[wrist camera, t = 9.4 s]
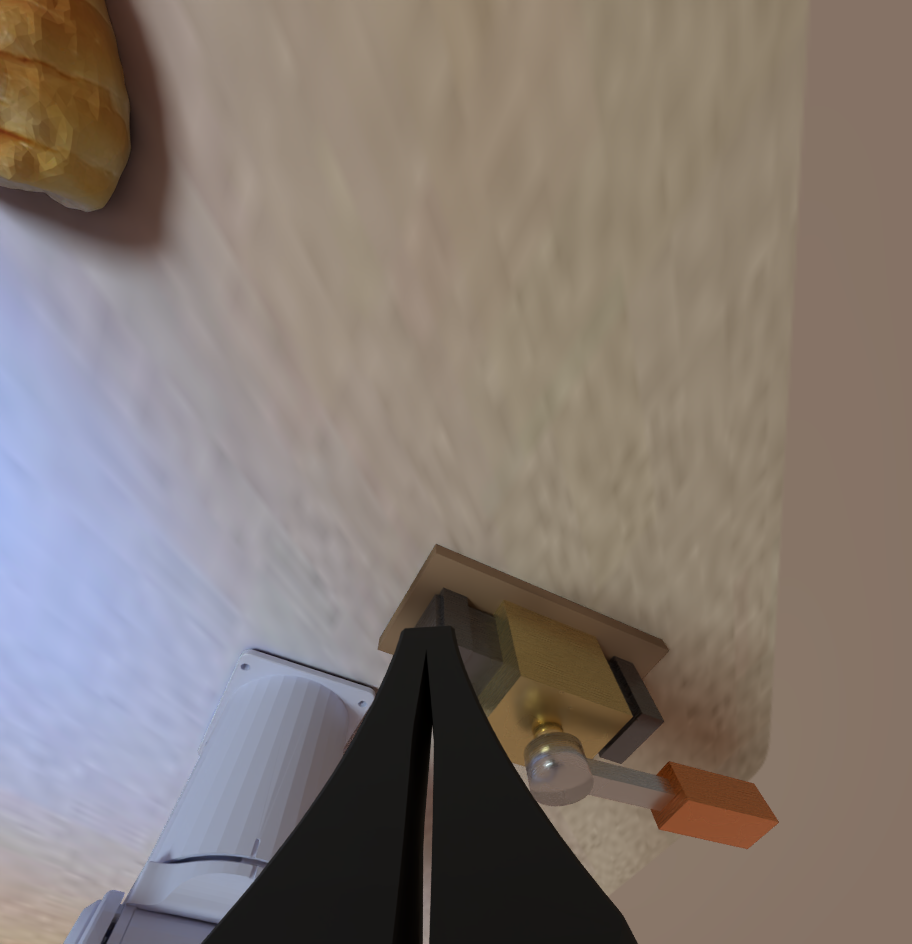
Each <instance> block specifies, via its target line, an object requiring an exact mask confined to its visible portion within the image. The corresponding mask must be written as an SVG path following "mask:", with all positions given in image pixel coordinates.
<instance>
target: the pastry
mask: <svg viewBox="0 0 912 944" xmlns="http://www.w3.org/2000/svg"><path fill="white" fill-rule="evenodd" d="M130 111H131V107H130V103H129V98H128V94H127V91H126V87H125V83H124V74H123V67H122V65H121V62H120V58H119V55H118V48H117V42H116V38H115V34H114V31H113V28H112V25H111V22H110V19H109V15H108V11H107V8H106V4H105V1H104V0H0V186H3V187H7V188H11V189H22V190H25V191H32V192H45V193H46V194H48V195H49V196H50V197H51V198H52V199H53V200H55V201H57V202H59V203H60V204H62V205H63V206H65V207H68V208H72V209H79V210H82V211H85V212H91V211H95V210H98V209H101V208H103V207H104V206H105V205H106V203H107V202H108V201H109V199H110V197H111V195H112V194H113V192H114V190H115V188H116V186H117V183H118V181H119V178H120V176H121V174H122V172H123V170H124V168H125V166H126V164H127V162H128V159H129V155H130V152H131V144H130V130H129V113H130Z"/></svg>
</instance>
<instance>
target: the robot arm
mask: <svg viewBox="0 0 912 944" xmlns="http://www.w3.org/2000/svg"><path fill="white" fill-rule="evenodd" d="M247 664H248V665H247ZM371 704H372V705H371ZM370 706H371V707H370ZM368 709H369V710H368ZM367 711H368V712H367ZM366 712H367V714H366ZM365 714H366V716H365V718H364V720H363V722H362V723H361V725H360V727H359V729H358V731H357V733H356V735H355V737H354V738H353V740H352V742H351V743H350V745H349V747H348V749H347V750H346V752H345V754H344V755H343V752H344V747H345V745H346V744H347V742H348V741H349V739H350V737H351V736H352V734H353V733H354V731H355V730H356V728H357V726H358V725H359V723H360V722H361V720H362V719H363V717H364V715H365ZM432 725H433V736H434V780H433V831H432V872H431V906H430V938H429V944H638V943H637V941H636V939H635V937H634V935H633V934H632V931H631V930H630V928H629V926H628V924H627V922H626V920H625V918H624V916H623V915H622V913H621V912H620V911H619V910H618V908H617V907H616V906H615V905H614V904H613V902H612V901H611V900H610V899H609V897H608V896H607V895H606V894H605V893H604V891H603V890H602V889H601V888H600V887H599V885H598V884H597V883H596V881H595V880H594V879H593V878H592V876H591V875H590V874H589V873H588V871H587V870H586V869H585V868H584V866H583V865H582V864H581V862H580V861H579V860H578V859H577V857H576V856H575V855H574V853H573V852H572V851H571V849H570V848H569V847H568V845H567V844H566V843H565V841H564V840H563V839H562V837H561V836H560V835H559V833H558V832H557V830H556V829H555V827H554V826H553V824H552V823H551V822H550V820H549V819H548V817H547V816H546V814H545V813H544V811H543V810H542V809H541V807H540V806H539V804H538V803H537V801H536V800H535V798H534V797H533V796H532V794H531V793H530V791H529V790H528V788H527V786H526V785H525V783H524V782H523V780H522V778H521V777H520V775H519V774H518V772H517V770H516V769H515V767H514V766H513V764H512V762H511V760H510V759H509V757H508V755H507V754H506V752H505V750H504V748H503V747H502V745H501V743H500V741H499V739H498V738H497V736H496V734H495V732H494V730H493V728H492V726H491V724H490V722H489V720H488V718H487V716H486V714H485V712H484V710H483V708H482V706H481V704H480V702H479V700H478V697H477V695H476V693H475V690H474V688H473V686H472V683H471V681H470V679H469V676H468V674H467V671H466V669H465V666H464V663H463V660H462V657H461V654H460V651H459V647H458V643H457V639H456V634H455V629H454V628H453V627H452V626H435V627H418V628H405V629H404V630H402V631H401V633H400V637H399V641H398V644H397V647H396V650H395V652H394V655H393V658H392V660H391V663H390V665H389V667H388V670H387V672H386V675H385V677H384V679H383V681H382V683H381V686H380V688H379V690H378V692H377V694H376V696H375V691H374V690H373V689H371V688H369V687H366V686H363V685H360V684H357V683H354V682H351V681H348V680H345V679H342V678H338V677H335V676H332V675H329V674H326V673H323V672H320V671H317V670H314V669H311V668H308V667H305V666H302V665H298V664H295V663H292V662H289V661H286V660H283V659H280V658H277V657H274V656H271V655H268V654H265V653H262V652H259V651H255V650H251V649H249V650H245V651H243V652H242V654H241V656H240V658H239V660H238V662H237V664H236V667H235V669H234V671H233V673H232V676H231V678H230V680H229V682H228V684H227V687H226V689H225V691H224V693H223V696H222V698H221V700H220V702H219V705H218V707H217V709H216V711H215V713H214V716H213V718H212V720H211V722H210V725H209V727H208V729H207V731H206V734H205V736H204V738H203V740H202V742H201V745H200V747H199V749H198V754H199V756H200V757H199V759H198V761H197V763H196V765H195V767H194V769H193V771H192V773H191V775H190V777H189V779H188V781H187V783H186V785H185V787H184V789H183V791H182V793H181V795H180V797H179V799H178V801H177V803H176V805H175V807H174V809H173V811H172V813H171V815H170V817H169V819H168V821H167V823H166V825H165V827H164V829H163V831H162V833H161V835H160V837H159V839H158V841H157V843H156V845H155V847H154V849H153V851H152V853H151V855H150V857H149V859H148V861H147V863H146V864H145V866H144V868H143V869H142V871H141V873H140V874H139V876H138V878H137V880H136V881H135V883H134V885H133V886H132V888H131V890H130V892H129V893H128V895H127V897H126V899H125V900H124V902H123V904H120V903H121V901H122V899H123V896H124V893H125V892H121V891H116V890H110V891H109V892H107V893H106V894H105V896H104V897H103V899H102V900H97V901H96V902H94V903H93V904H91V905H89V906H88V907H86V908H85V909H84V910H83V911H82V913H81V914H80V916H79V918H78V919H77V921H76V923H75V924H74V926H73V928H72V929H71V931H70V933H69V935H68V936H67V938H66V940H65V941H64V943H63V944H423V841H424V821H425V809H426V797H427V784H428V772H429V760H430V747H431V734H432Z"/></svg>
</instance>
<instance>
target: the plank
mask: <svg viewBox="0 0 912 944" xmlns="http://www.w3.org/2000/svg"><path fill="white" fill-rule="evenodd" d="M443 587H444V588H446V589H449V590H451V591H454V592H456V593H459V594H461V595H464V596H466V597H467V599H468V606H469V607H471V608H474V609H476V610H479V611H481V612H484V613H486V614H489V615H491V616H492V615H493V614H494V612H495V611H496V609H497V608H498V607H499V605H500V604H501V602H502V601H503V600H506V601H509V602H511V603H514V604H516V605H519V606H521V607H524V608H526V609H529V610H531V611H533V612H536V613H538V614H541V615H543V616H546V617H548V618H551V619H553V620H556V621H558V622H560V623H563V624H565V625H568V626H570V627H573V628H575V629H578V630H580V631H583V632H585V633H587V634H590V635H592V636H595V637H596V639H597V641H598V643H599V645H600V647H601V649H602V652H603V654H604V656H605V658H606V660H607V661H608V662H609V661H610V660H611V658H612V657H613V656H616V657H619V658H621V659H624V660H626V661H629V662H631V663H633V664H634V666H635V668H636V670H637V671H638V673H639V675H640V677H641V679H643V678H644V677H645V676H646V675H647V674H648V672H649V671H650V670H651V669H652V668H653V667H654V666H655V665H656V664H657V663H658V662H659V661H660V660H661V659H662V657H663V656H664V655H665V654H666V653H667V652H668V651H669V650H668V648H667V647H666V645H665V644H664V642H663V641H662V640H661V639H659V638H656V637H654V636H651V635H649V634H647V633H644V632H642V631H640V630H637V629H635V628H633V627H630V626H628V625H626V624H623V623H621V622H618V621H616V620H614V619H611V618H609V617H607V616H604V615H602V614H600V613H597V612H595V611H593V610H590V609H588V608H585V607H583V606H581V605H578V604H576V603H574V602H571V601H569V600H567V599H564V598H562V597H560V596H557V595H555V594H552V593H550V592H548V591H545V590H543V589H541V588H538V587H536V586H534V585H531V584H529V583H527V582H524V581H522V580H519V579H517V578H515V577H512V576H510V575H508V574H505V573H503V572H501V571H498V570H496V569H493V568H491V567H489V566H486V565H484V564H482V563H479V562H477V561H475V560H472V559H470V558H468V557H465V556H463V555H460V554H458V553H456V552H453V551H451V550H449V549H446V548H444V547H442V546H439V545H437V544H436V545H435V546H434V548H433V550H432V551H431V553H430V555H429V556H428V558H427V560H426V561H425V563H424V565H423V567H422V568H421V570H420V572H419V573H418V575H417V577H416V578H415V580H414V582H413V583H412V585H411V587H410V588H409V590H408V592H407V593H406V595H405V597H404V598H403V600H402V602H401V603H400V605H399V607H398V608H397V610H396V612H395V613H394V615H393V617H392V619H391V620H390V622H389V624H388V625H387V627H386V629H385V630H384V632H383V634H382V635H381V637H380V639H379V645H378V650H381V651H383V652H386V653H389V654H392V655H394V652H395V650H396V647H397V644H398V641H399V637H400V633H401V631H402V630H404V629H405V628H414V627H415V625H416V624H417V622H418V621H419V619H420V618H421V616H422V614H423V613H424V611H425V610H426V608H427V606H428V605H429V603H430V602H431V600H432V598H433V597H434V595H435V594H438V595H439V594H440V592H441V591H442V589H443Z"/></svg>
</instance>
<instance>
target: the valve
mask: <svg viewBox="0 0 912 944" xmlns="http://www.w3.org/2000/svg"><path fill="white" fill-rule="evenodd" d="M435 626H452V627H453V628H454V629H455V634H456V639H457V643H458V647H459V651H460V654H461V657H462V660H463V663H464V666H465V669H466V671H467V674H468V676H469V679H470V681H471V683H472V686H473V688H474V690H475V693H476V695H477V697H478V700H479V702H480V704H481V706H482V708H483V710H484V712H485V714H486V716H487V718H488V720H489V722H490V724H491V726H492V728H493V730H494V732H495V734H496V736H497V738H498V739H499V741H500V743H501V745H502V747H503V748H504V750H505V752H506V754H507V755H508V757H509V759H510V760H511V762H512V763H515V764H519V765H522V766H525V761H524V750H525V748H526V746H527V745H528V744H529V743H530V742H531V741H532V740H533V739H535V738H536V737H538V736H540V735H543V734H546V733H551V732H564V733H569V734H571V735H574V736H575V737H577V738H578V739H579V740H580V741H581V743H582V746H583V749H584V752H585V755H586V758H589V759H593V757H594V756H595V755H596V754H597V753H599V756H600V757H601V758H604V759H608V760H611V761H614V762H617V763H620V764H622V763H623V762H624V761H625V760H626V759H627V758H628V757H629V756H630V755H631V754H632V753H633V752H634V751H635V750H636V749H637V748H638V747H639V746H640V745H641V744H642V743H643V742H644V741H645V740H646V739H647V738H648V737H649V736H650V735H651V734H652V733H653V732H654V731H655V730H656V729H657V728H658V727H659V726H660V725H661V724H662V723H663V722H664V720H663V718H662V716H661V714H660V713H659V711H658V709H657V707H656V705H655V703H654V701H653V700H652V698H651V696H650V694H649V692H648V690H647V688H646V686H645V685H644V683H643V681H642V679H641V677H640V675H639V673H638V671H637V670H636V668H635V666H634V664H633V663H631V662H629V661H626V660H624V659H621V658H619V657H616V656H613V657H612V658H611V660H610V661H609V662H608V661H607V660H606V658H605V656H604V654H603V652H602V649H601V647H600V645H599V643H598V641H597V639H596V637H595V636H592V635H590V634H587V633H585V632H583V631H580V630H578V629H575V628H573V627H570V626H568V625H565V624H563V623H560V622H558V621H556V620H553V619H551V618H548V617H546V616H543V615H541V614H538V613H536V612H533V611H531V610H529V609H526V608H524V607H521V606H519V605H516V604H514V603H511V602H509V601H506V600H503V601H502V602H501V604H500V605H499V607H498V608H497V609H496V611H495V612H494V614H493V615H492V616H491V615H489V614H486V613H484V612H481V611H479V610H476V609H474V608H471V607H469V606H468V599H467V597H466V596H464V595H461V594H459V593H456V592H454V591H451V590H449V589H446V588H444V587H443V589H442V591H441V592H440V594H439V595H438V594H435V595H434V597H433V598H432V600H431V602H430V603H429V605H428V606H427V608H426V610H425V611H424V613H423V614H422V616H421V618H420V619H419V621H418V622H417V624H416V625H415V627H414V628H418V627H435ZM525 767H526V766H525Z"/></svg>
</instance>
